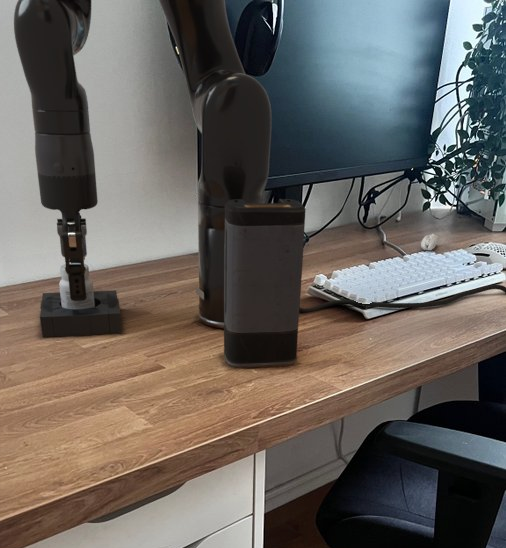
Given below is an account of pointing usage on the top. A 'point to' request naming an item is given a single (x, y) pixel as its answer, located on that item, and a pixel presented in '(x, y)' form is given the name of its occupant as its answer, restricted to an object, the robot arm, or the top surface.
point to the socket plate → (80, 316)
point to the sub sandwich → (429, 242)
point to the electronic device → (262, 282)
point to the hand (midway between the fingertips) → (78, 293)
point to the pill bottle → (65, 291)
